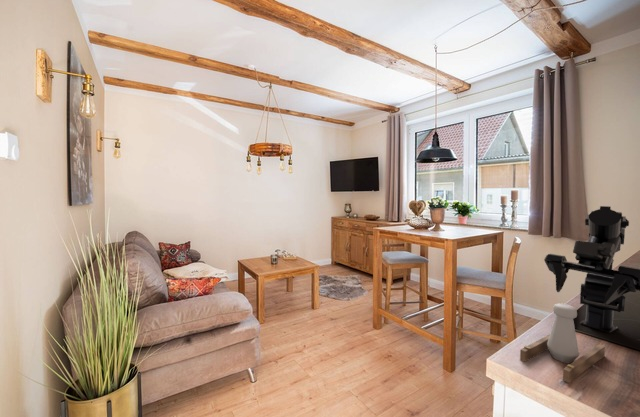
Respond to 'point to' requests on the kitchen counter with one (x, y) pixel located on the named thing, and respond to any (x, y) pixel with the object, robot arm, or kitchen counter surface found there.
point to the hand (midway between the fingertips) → (579, 297)
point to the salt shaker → (563, 334)
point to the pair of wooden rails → (571, 369)
